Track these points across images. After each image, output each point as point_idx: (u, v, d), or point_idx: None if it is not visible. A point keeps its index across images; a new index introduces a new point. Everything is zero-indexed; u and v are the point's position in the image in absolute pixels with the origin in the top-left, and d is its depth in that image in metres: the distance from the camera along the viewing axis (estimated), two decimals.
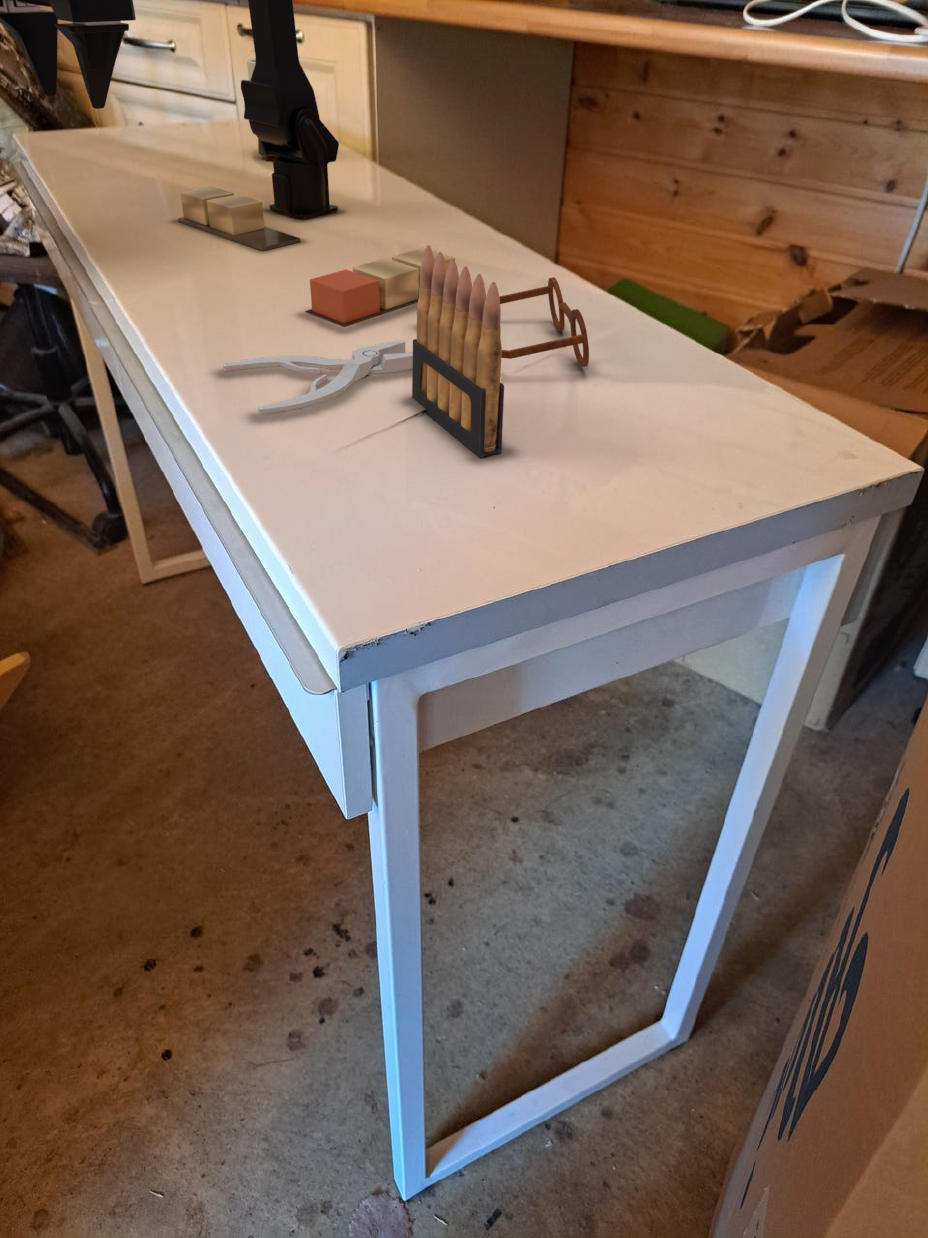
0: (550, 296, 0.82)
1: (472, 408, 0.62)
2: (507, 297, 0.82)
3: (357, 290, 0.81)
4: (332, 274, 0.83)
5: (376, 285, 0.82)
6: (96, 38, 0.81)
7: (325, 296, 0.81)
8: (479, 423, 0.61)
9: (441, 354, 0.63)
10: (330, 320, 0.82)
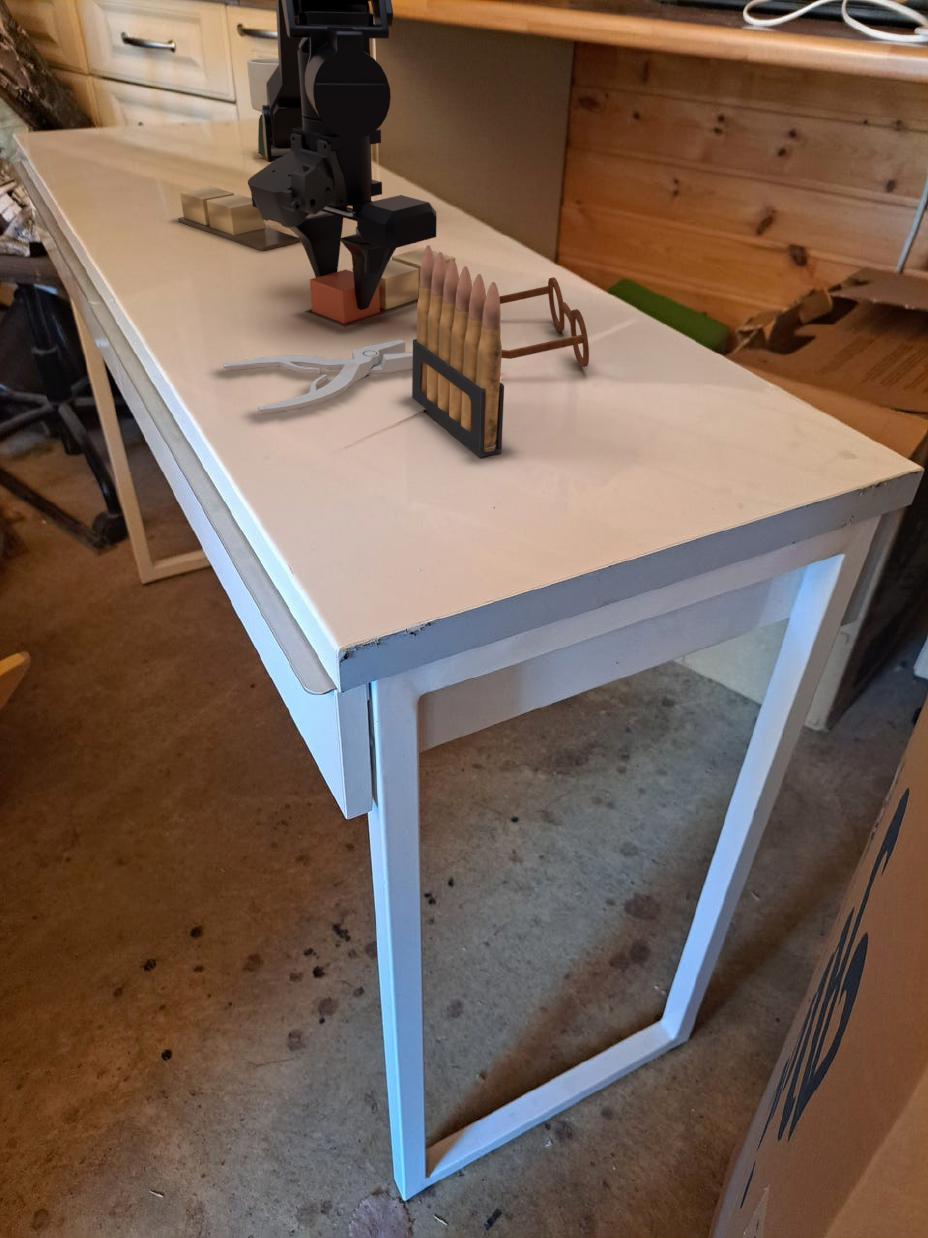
0: (550, 296, 0.82)
1: (472, 408, 0.62)
2: (507, 297, 0.82)
3: None
4: (332, 274, 0.83)
5: None
6: None
7: (325, 296, 0.81)
8: (479, 423, 0.61)
9: (441, 354, 0.63)
10: (330, 320, 0.82)
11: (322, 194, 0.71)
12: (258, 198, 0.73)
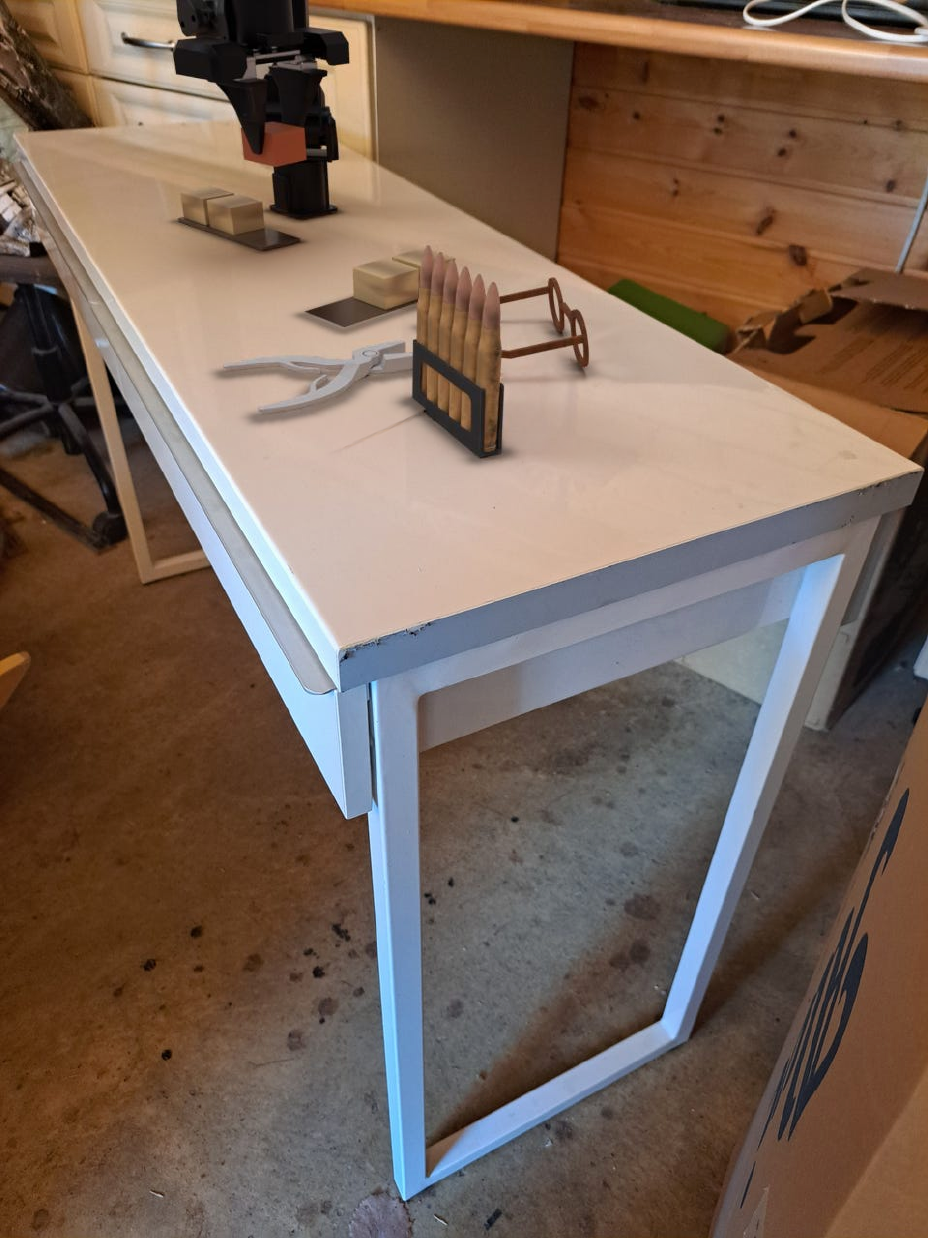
0: (550, 296, 0.82)
1: (472, 408, 0.62)
2: (507, 297, 0.82)
3: None
4: (287, 125, 0.91)
5: (269, 138, 0.88)
6: (245, 91, 0.85)
7: None
8: (479, 423, 0.61)
9: (441, 354, 0.63)
10: (330, 320, 0.82)
11: (188, 20, 0.84)
12: None
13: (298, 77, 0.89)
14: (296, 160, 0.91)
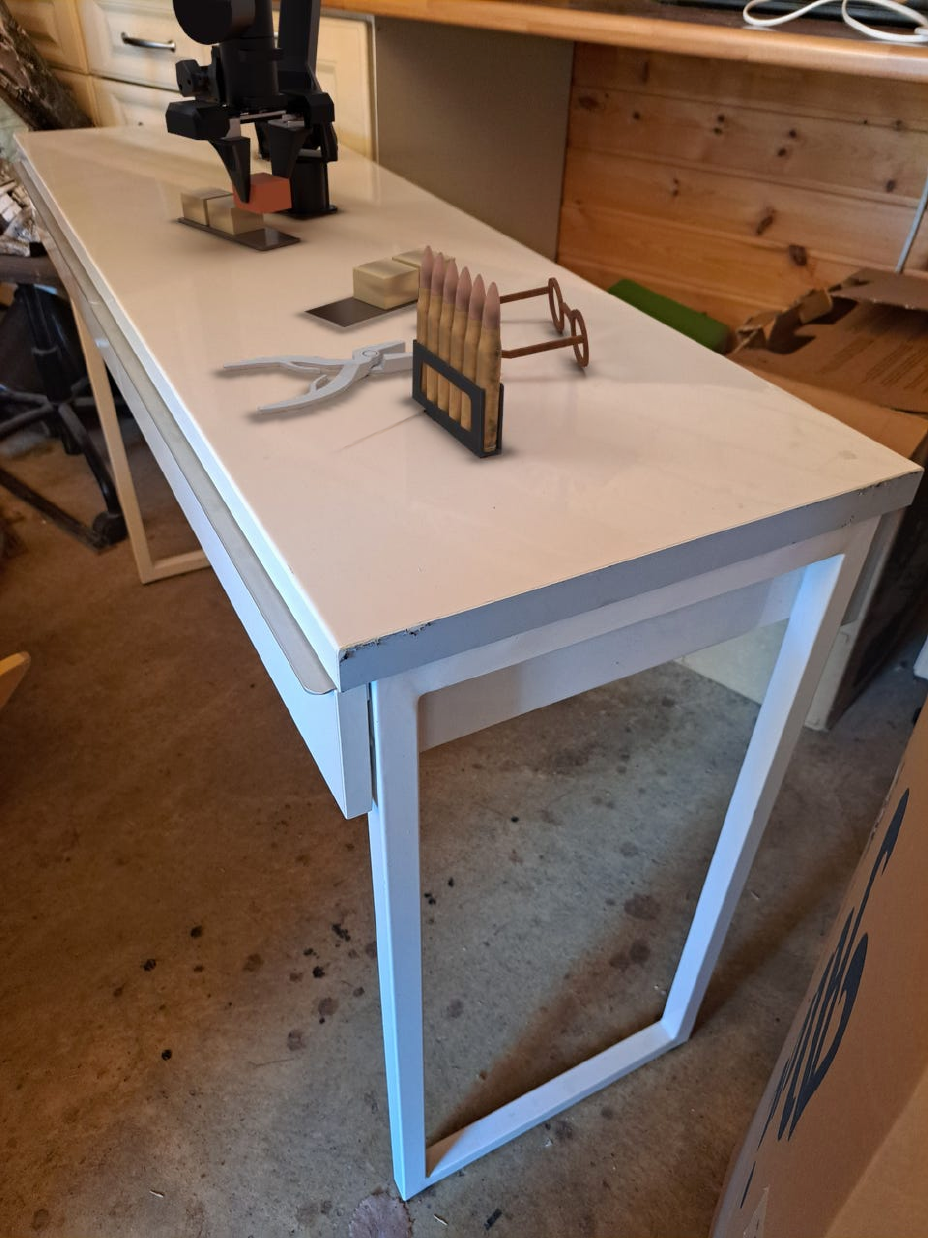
0: (550, 296, 0.82)
1: (472, 408, 0.62)
2: (507, 297, 0.82)
3: None
4: (275, 176, 0.99)
5: (254, 188, 0.96)
6: (232, 147, 0.94)
7: None
8: (479, 423, 0.61)
9: (441, 354, 0.63)
10: (330, 320, 0.82)
11: (185, 83, 0.93)
12: None
13: (284, 134, 0.97)
14: (281, 208, 0.99)
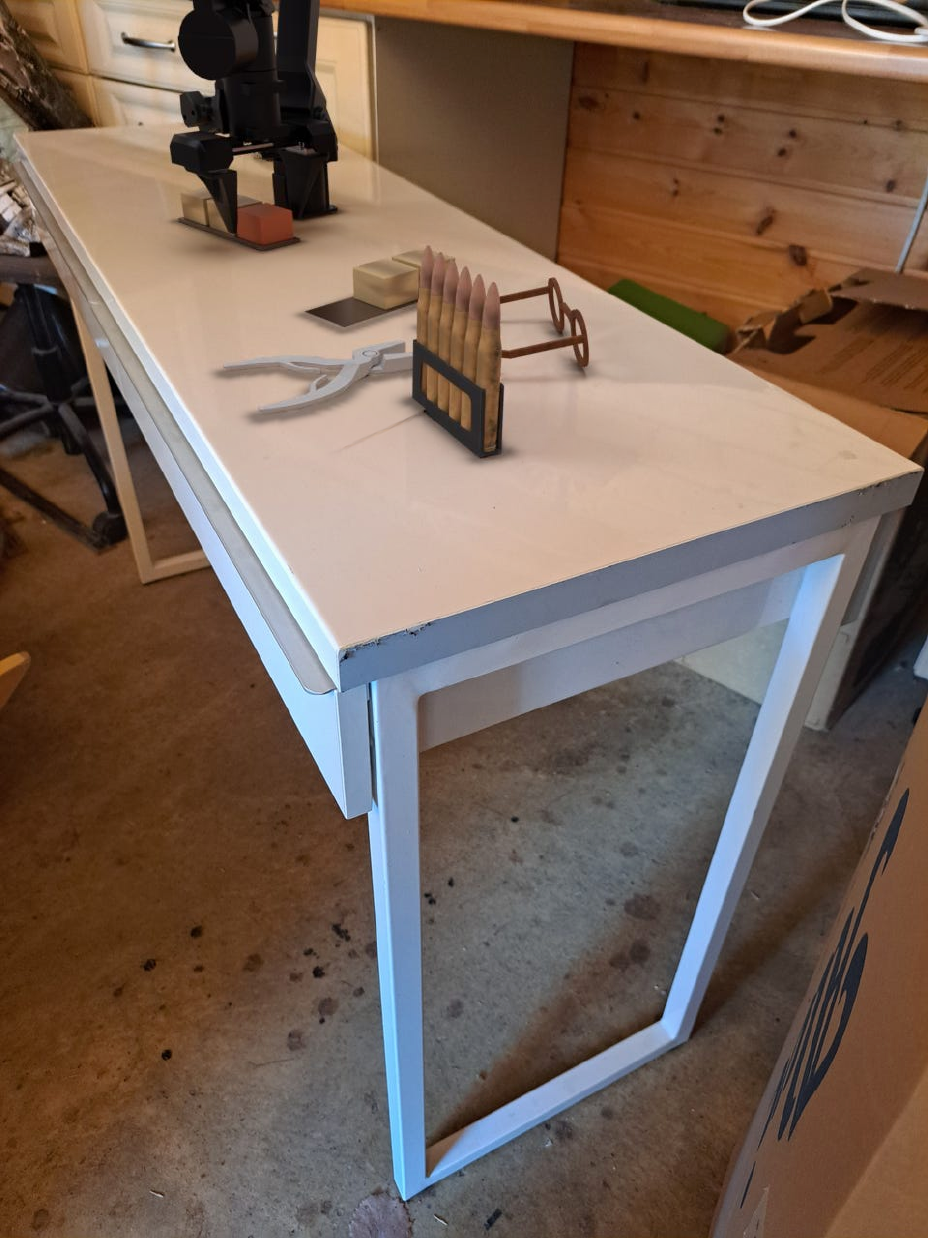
0: (550, 296, 0.82)
1: (472, 408, 0.62)
2: (507, 297, 0.82)
3: (244, 215, 1.00)
4: (277, 207, 1.01)
5: (257, 220, 0.98)
6: (219, 179, 0.94)
7: None
8: (479, 423, 0.61)
9: (441, 354, 0.63)
10: (330, 320, 0.82)
11: (189, 114, 0.95)
12: None
13: (301, 160, 1.00)
14: (283, 238, 1.02)
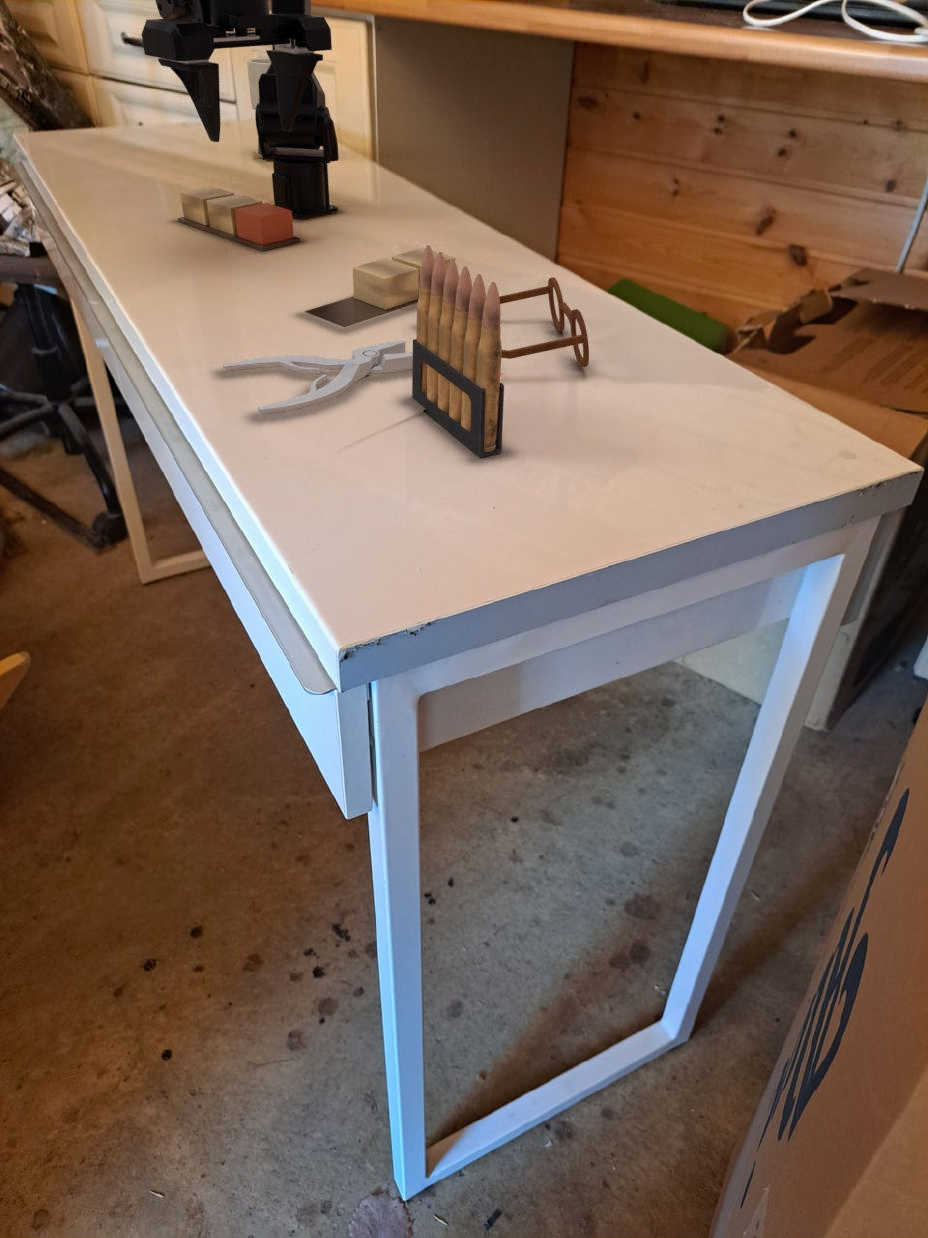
0: (550, 296, 0.82)
1: (472, 408, 0.62)
2: (507, 297, 0.82)
3: (244, 215, 1.00)
4: (277, 207, 1.01)
5: (257, 220, 0.98)
6: (198, 75, 0.83)
7: None
8: (479, 423, 0.61)
9: (441, 354, 0.63)
10: (330, 320, 0.82)
11: (165, 2, 0.84)
12: None
13: (293, 60, 0.89)
14: (283, 238, 1.02)
